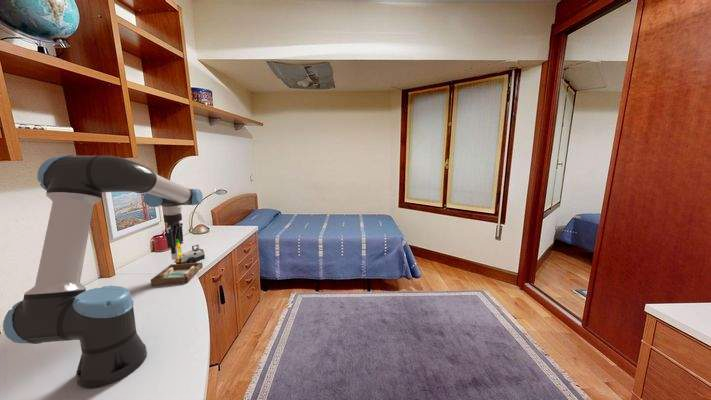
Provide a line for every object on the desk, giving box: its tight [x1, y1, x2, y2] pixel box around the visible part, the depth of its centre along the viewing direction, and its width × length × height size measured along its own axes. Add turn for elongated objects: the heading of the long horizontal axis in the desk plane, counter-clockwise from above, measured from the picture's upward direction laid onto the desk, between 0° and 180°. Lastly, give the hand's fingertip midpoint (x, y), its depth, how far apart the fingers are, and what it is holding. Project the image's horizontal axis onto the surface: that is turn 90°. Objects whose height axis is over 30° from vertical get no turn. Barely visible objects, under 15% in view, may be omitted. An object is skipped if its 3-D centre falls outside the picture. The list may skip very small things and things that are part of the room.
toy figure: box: [168, 239, 183, 264], centre depth 134 cm, size 7×4×12 cm, turn 109°
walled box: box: [150, 262, 204, 288], centre depth 135 cm, size 19×16×4 cm
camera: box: [174, 243, 206, 264], centre depth 153 cm, size 15×8×10 cm, turn 154°
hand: (177, 257), depth 134 cm, fingers closed on toy figure, 4 cm apart
